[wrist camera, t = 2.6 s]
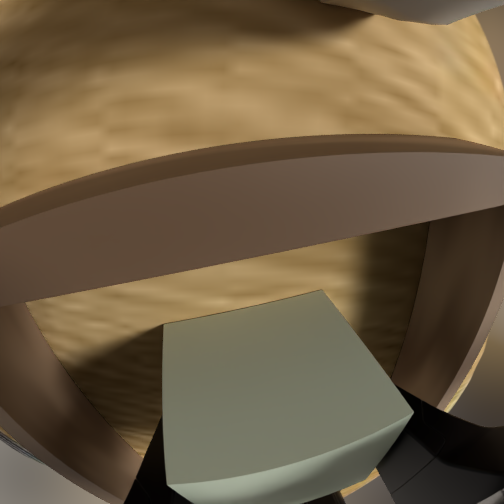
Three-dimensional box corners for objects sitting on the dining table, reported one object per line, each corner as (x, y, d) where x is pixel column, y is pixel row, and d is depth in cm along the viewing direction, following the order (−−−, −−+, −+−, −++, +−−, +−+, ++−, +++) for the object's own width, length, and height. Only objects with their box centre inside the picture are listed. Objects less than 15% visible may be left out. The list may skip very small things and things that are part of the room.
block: (316, 384, 11) (365, 479, 7) (201, 411, 10) (221, 520, 6) (322, 289, 9) (414, 411, 4) (163, 324, 8) (166, 484, 4)
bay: (395, 399, 14) (422, 439, 11) (130, 463, 12) (131, 513, 9) (454, 138, 8) (533, 160, 4) (-32, 222, 5) (-100, 276, 2)
